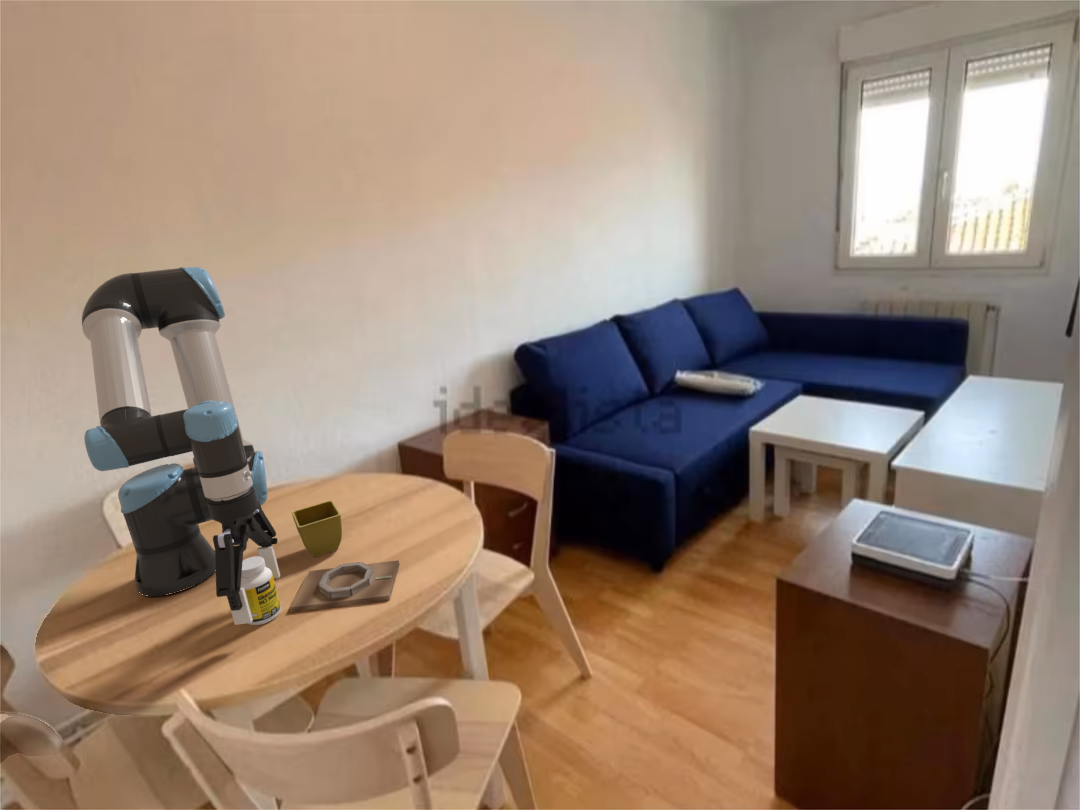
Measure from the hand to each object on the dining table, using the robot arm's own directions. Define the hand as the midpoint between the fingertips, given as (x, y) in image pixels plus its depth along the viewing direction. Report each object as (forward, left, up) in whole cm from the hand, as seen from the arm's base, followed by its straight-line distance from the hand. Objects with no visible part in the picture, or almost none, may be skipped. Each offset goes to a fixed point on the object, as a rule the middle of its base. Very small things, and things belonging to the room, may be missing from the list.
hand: (259, 598), depth 108 cm
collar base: (+14, +6, -4) cm, 16 cm away
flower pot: (+5, +22, -4) cm, 23 cm away
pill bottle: (0, 0, -4) cm, 4 cm away
